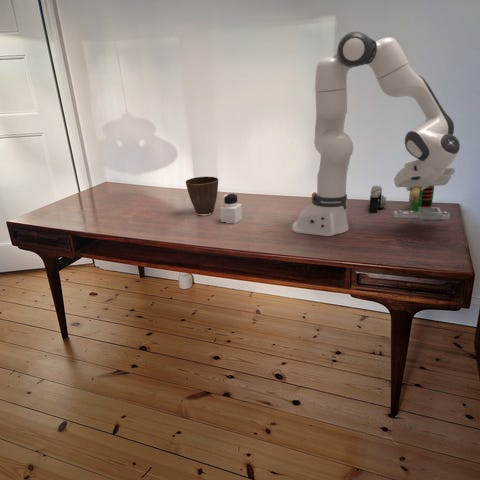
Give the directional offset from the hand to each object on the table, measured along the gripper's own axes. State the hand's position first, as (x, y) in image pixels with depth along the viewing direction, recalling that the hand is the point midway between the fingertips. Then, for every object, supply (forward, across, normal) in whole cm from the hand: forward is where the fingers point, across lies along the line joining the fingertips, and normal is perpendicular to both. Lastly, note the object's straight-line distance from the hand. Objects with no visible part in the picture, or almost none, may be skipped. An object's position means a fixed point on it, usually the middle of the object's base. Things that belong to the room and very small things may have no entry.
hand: (414, 189), depth 167 cm
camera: (+25, +6, -5) cm, 26 cm away
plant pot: (+35, +84, -11) cm, 91 cm away
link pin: (+3, 0, +4) cm, 5 cm away
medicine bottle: (+24, +72, -1) cm, 76 cm away
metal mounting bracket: (+14, -7, +6) cm, 16 cm away
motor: (+21, -12, -2) cm, 25 cm away
